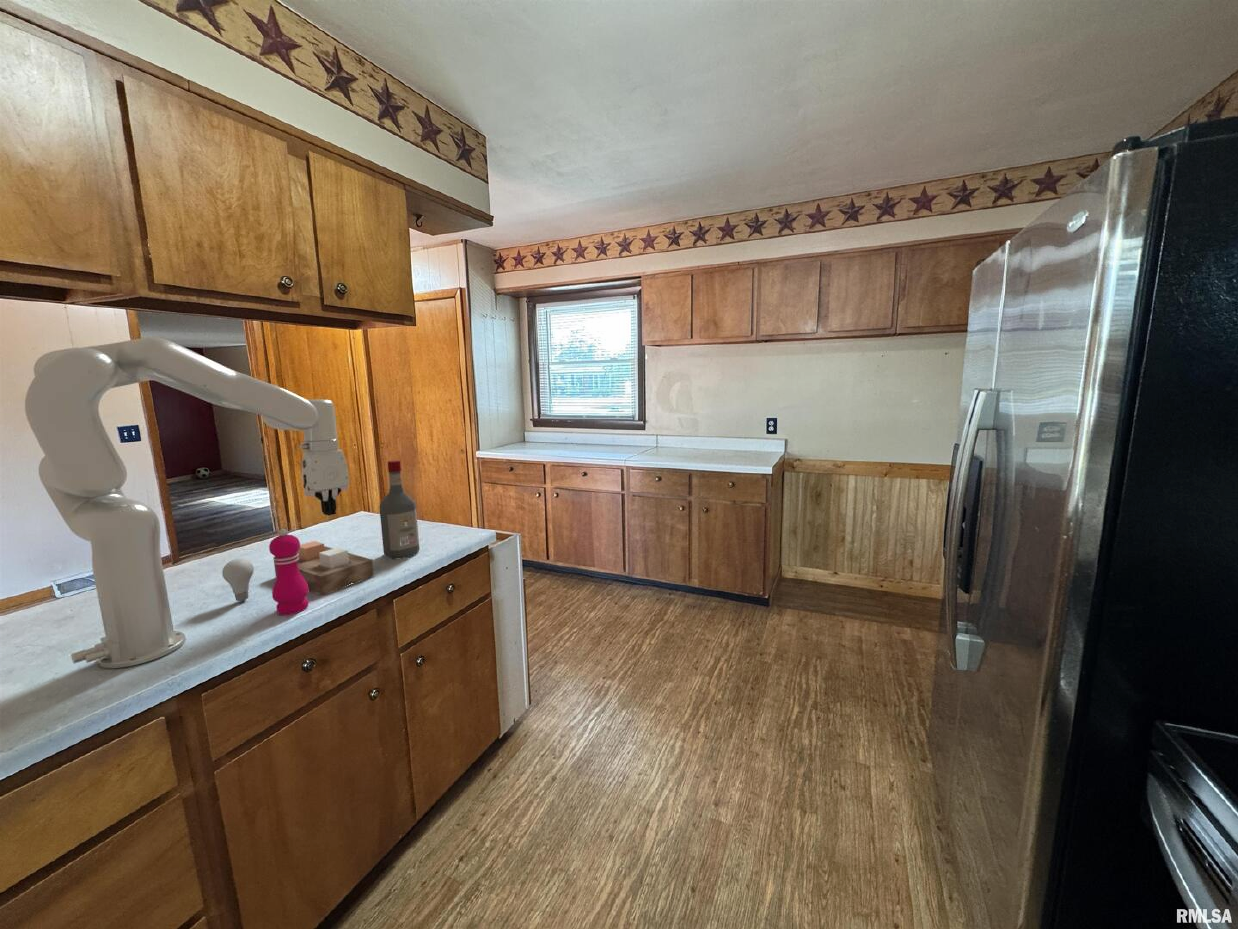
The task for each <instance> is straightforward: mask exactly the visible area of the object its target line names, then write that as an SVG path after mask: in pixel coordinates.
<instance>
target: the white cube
mask: <svg viewBox="0 0 1238 929" xmlns="http://www.w3.org/2000/svg"><path fill="white" fill-rule="evenodd" d="M348 553H349V550H348V549H344V548H340V547H335V548H333V549H331V550H327V551H324V552H320V553H319V556H320V565H321V567H324V568H327V569H333V568H336V567H339V566H342V565H345V564H348V563H349V556H348Z"/></svg>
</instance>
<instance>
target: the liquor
mask: <svg viewBox="0 0 1238 929" xmlns="http://www.w3.org/2000/svg"><path fill="white" fill-rule="evenodd" d="M401 464H402V463H401V460H388V461H387V471H388V476H389V490H388V491H389V492H388V493H387V494H386V496H385V497H384V498H383V499H382V501H381V502H380V504H379V507H378V508H379V517H380V526H381V527H380V528H381V536H382V549H383V553H384V555H385V556H386V557H387V558H389V559H391V558H401V559H405V558H407V557H408V556H409V557H412V556H415V555H414V554H416V553H417V552H418V553H419V550H420V549H421V548H420V537H419V525H418V514H417V512H418V511H417V503H416V501H415V500H414V499H413V498H412V497H411V496H410V495H409V494H408V493H406V492H405V491H404V487H403V481H402V465H401ZM418 553H417V554H418ZM417 554H416V555H417ZM411 555H412V556H411ZM409 557H408V558H409Z"/></svg>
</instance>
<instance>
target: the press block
mask: <svg viewBox="0 0 1238 929" xmlns="http://www.w3.org/2000/svg"><path fill="white" fill-rule="evenodd" d="M324 549H325V551H327V550H331V549H334V548H333V547H330V546H326V545H324ZM348 556H349V563H348V564H345V565H342V566H339V567H336V568H333V569H327V568H324V567H321V565H320V558H316V559H313V560H310V561H303V560H298V568H299V571H300V573H301V575H302V576H303V578H304V579H305V580H306V582H307V584H308V588H309V591H311V592H313V591H314V592H313V593H317V594H319V595H321V596H324V595H327V594H329V592H330V593H332V592H331V591H333V592H335V591H337V590H336V589H338V590H340V589H341V590H342V589H344V588H346V587H348V586H347V585H349V584H351V583H355V584H357V583H359V582H358V581H360V582H362V581H361V580H363V581H365V580H364V579H366V578H369V577H371V578H374V577H375V574H374V565H373V559H371V558H368V557H364V556H360V555H358V554H354V553H351V552H348ZM273 564H274V563H273ZM274 574H275V579H276V578H277V566H276V564H274ZM369 579H370V578H369ZM366 580H367V579H366ZM356 582H357V583H356ZM345 586H346V587H345ZM349 586H350V585H349ZM343 587H344V588H343ZM334 590H335V591H334Z"/></svg>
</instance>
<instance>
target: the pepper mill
mask: <svg viewBox="0 0 1238 929" xmlns="http://www.w3.org/2000/svg"><path fill="white" fill-rule="evenodd" d="M288 533H289V532H288V530H287V529H285V528H281V529H279V531H278V535H277V536H276V537H274V538H273V539H272V540H271V541H270V543H269V546H268V550H269V553H270V554H271V555H273V556H274V557H273V558H272V559H273V564H276V566H277V578H276V577H275V580H274V581H275V582H274V583H273V584H274V585H273V586H272V590H271V591H272V592H271V593H272V594H271V597H272V600H273V601H274V602H276V603H277V604H276V606H275V607H276V612H277V614H278V615H281V616H286V615H287V616H288V615H293V614H298V613H300V612H302V611H305V610H306V609H307V608H308V607H309V602H308V598H307V595H308V594H309V591H310V590H309V588H308V584H307V582H306V580H305V579H304V578H303V576H302V575H301V573H300V571H299V568H298V560H299V554H298V553H297V551H298V550H299V548H300V545H301V542H300V540H299V538H298V537H297V536H295V535H293V534H288ZM304 609H305V610H304Z"/></svg>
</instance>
